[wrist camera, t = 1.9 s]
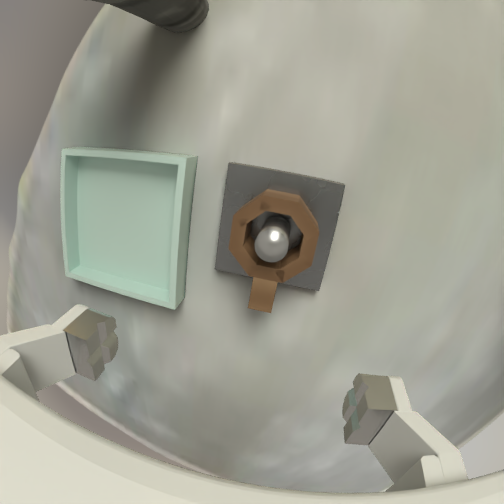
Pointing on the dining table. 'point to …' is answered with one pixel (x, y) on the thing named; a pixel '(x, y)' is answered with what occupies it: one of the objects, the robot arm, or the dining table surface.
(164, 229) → the tray
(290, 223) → the stake
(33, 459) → the robot arm
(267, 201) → the ring
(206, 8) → the beverage cup
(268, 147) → the dining table surface
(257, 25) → the dining table surface
